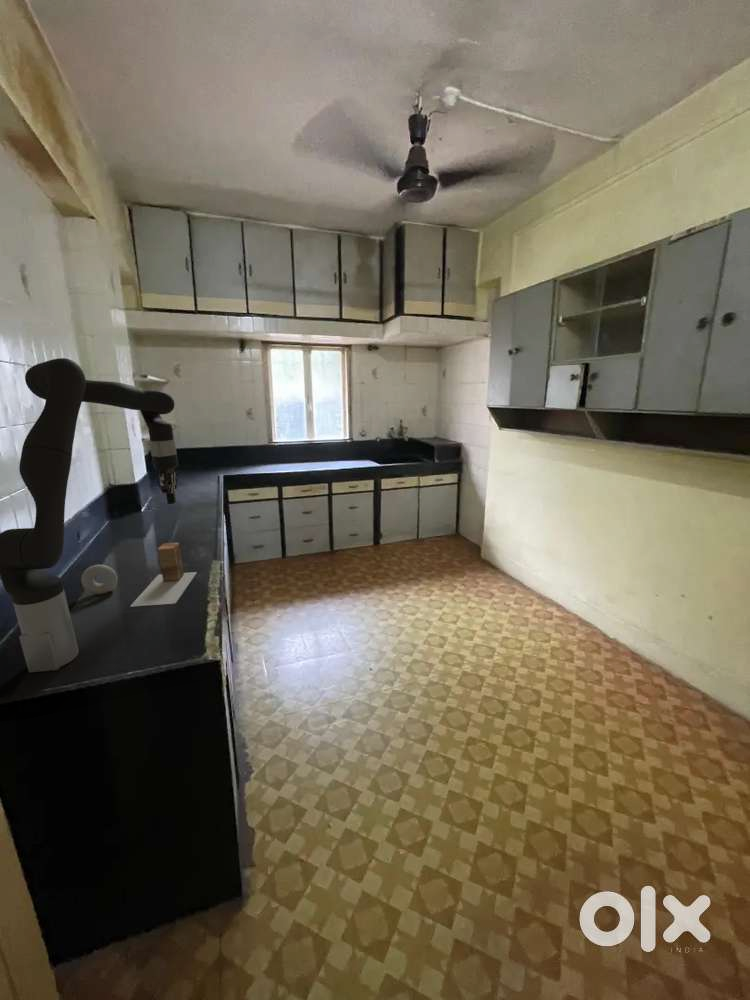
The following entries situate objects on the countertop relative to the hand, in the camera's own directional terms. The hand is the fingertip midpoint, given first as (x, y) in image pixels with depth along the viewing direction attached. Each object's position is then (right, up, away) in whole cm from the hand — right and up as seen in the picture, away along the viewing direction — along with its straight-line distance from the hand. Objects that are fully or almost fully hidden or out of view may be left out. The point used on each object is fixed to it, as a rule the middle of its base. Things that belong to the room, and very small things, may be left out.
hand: (171, 503), depth 140 cm
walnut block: (+1, -26, -1) cm, 26 cm away
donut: (-17, -29, -10) cm, 35 cm away
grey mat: (+2, -28, -8) cm, 29 cm away
